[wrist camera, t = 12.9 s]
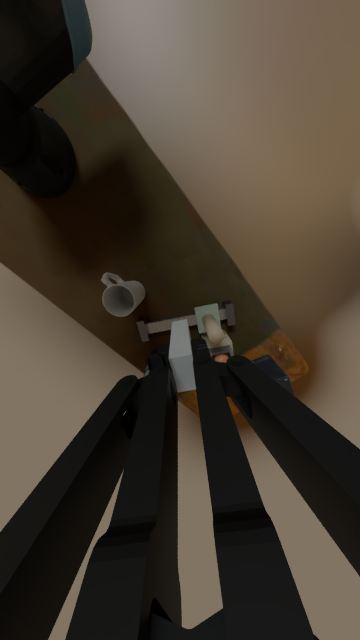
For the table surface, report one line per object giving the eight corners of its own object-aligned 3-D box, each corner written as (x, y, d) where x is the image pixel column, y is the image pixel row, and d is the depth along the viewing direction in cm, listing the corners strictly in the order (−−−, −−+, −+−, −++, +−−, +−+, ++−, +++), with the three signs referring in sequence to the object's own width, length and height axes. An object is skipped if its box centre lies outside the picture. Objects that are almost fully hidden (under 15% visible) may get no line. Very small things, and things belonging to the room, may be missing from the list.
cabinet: (200, 334, 50) (205, 351, 40) (224, 329, 49) (235, 346, 39) (204, 355, 52) (210, 376, 42) (227, 351, 51) (238, 372, 41)
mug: (151, 294, 46) (141, 304, 35) (133, 308, 47) (118, 322, 36) (127, 263, 43) (107, 263, 32) (108, 279, 45) (83, 284, 33)
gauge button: (212, 352, 42) (214, 359, 39) (226, 350, 42) (230, 356, 39) (214, 364, 43) (216, 372, 40) (228, 362, 43) (231, 369, 40)
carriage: (193, 305, 47) (199, 323, 33) (215, 301, 46) (229, 317, 32) (197, 328, 49) (204, 354, 35) (218, 325, 48) (233, 349, 35)
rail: (139, 318, 48) (136, 322, 45) (229, 300, 46) (233, 303, 43) (144, 336, 50) (142, 342, 47) (231, 320, 48) (235, 324, 45)
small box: (248, 361, 52) (263, 383, 43) (268, 353, 52) (289, 374, 42) (257, 386, 55) (274, 413, 46) (277, 379, 55) (298, 405, 45)
